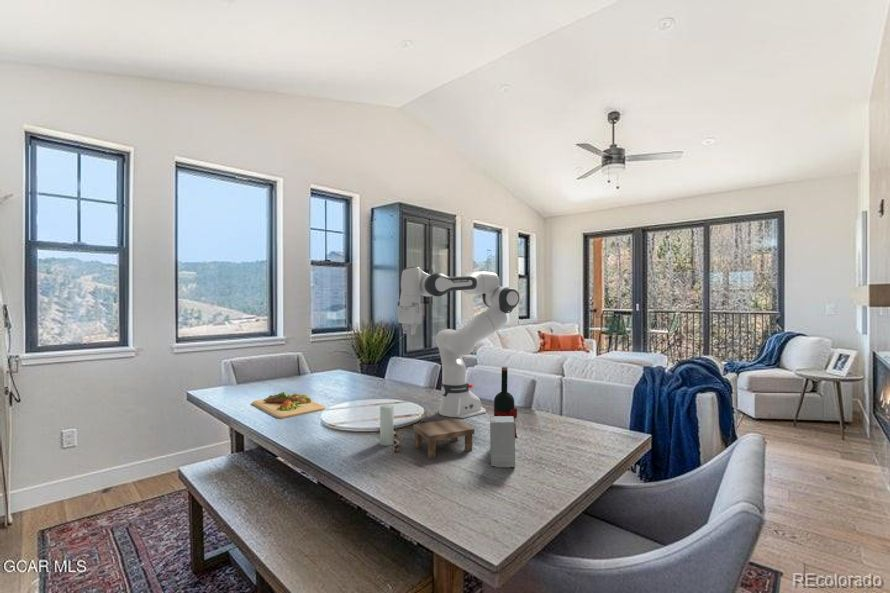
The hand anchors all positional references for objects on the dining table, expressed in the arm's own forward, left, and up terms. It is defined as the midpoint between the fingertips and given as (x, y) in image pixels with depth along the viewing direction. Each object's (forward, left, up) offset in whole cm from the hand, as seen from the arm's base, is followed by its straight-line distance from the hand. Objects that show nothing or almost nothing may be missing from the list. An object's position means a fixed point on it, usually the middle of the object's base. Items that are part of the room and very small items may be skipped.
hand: (409, 334), depth 197 cm
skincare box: (-9, +59, -39) cm, 71 cm away
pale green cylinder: (+19, +23, -38) cm, 48 cm away
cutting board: (+45, -46, -39) cm, 75 cm away
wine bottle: (-19, +47, -39) cm, 64 cm away
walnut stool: (+2, +37, -38) cm, 53 cm away
